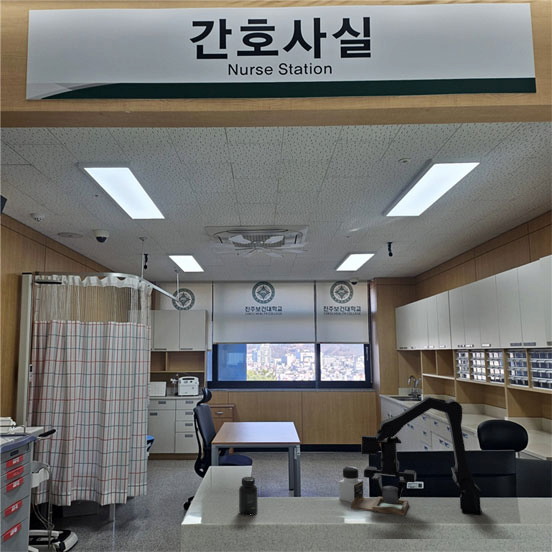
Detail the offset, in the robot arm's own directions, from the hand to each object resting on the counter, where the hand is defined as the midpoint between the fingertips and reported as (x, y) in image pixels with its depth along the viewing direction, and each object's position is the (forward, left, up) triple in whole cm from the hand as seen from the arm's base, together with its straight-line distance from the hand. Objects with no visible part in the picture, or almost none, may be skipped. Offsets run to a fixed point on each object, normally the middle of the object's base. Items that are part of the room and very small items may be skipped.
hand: (390, 497), depth 182 cm
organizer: (+4, 0, -4) cm, 5 cm away
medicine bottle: (+16, -5, -4) cm, 18 cm away
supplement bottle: (+48, +23, -4) cm, 53 cm away
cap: (0, 0, -1) cm, 1 cm away
